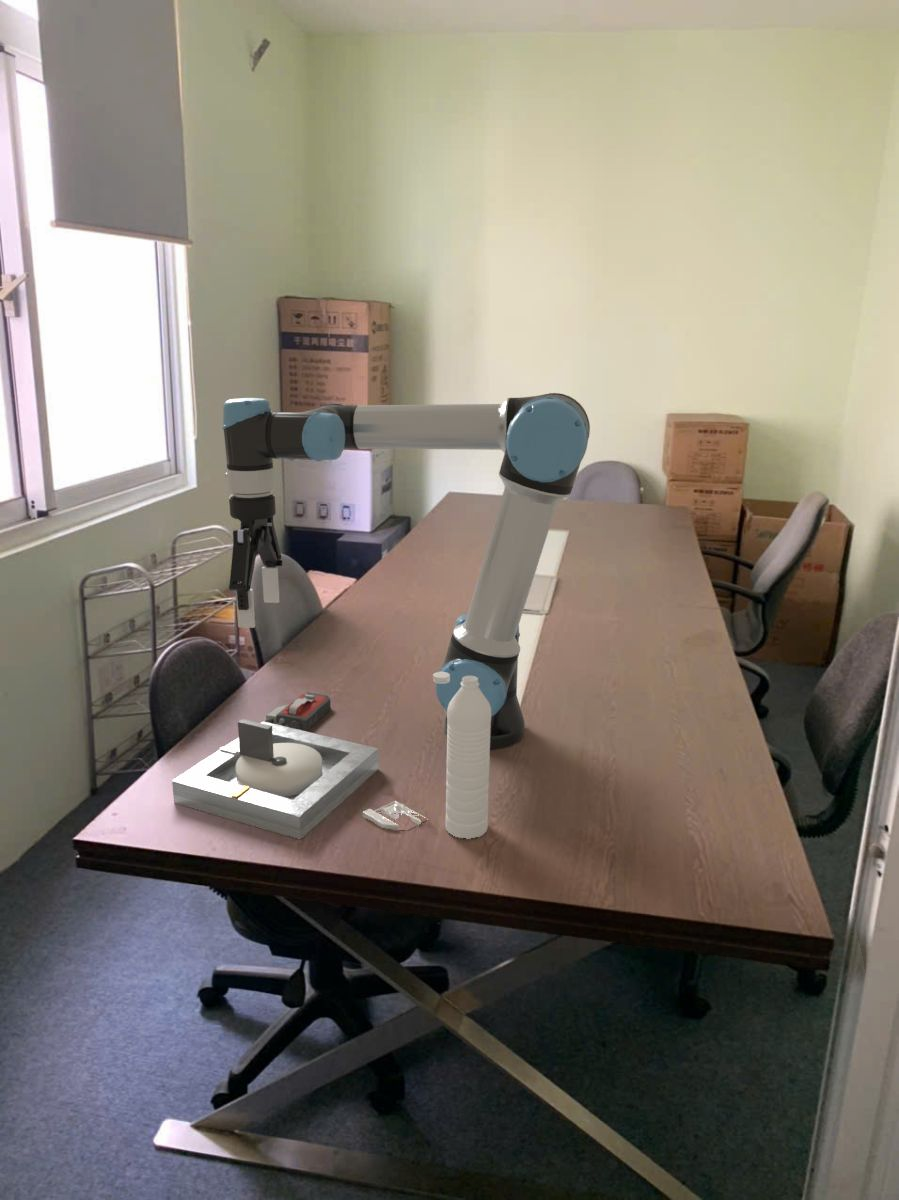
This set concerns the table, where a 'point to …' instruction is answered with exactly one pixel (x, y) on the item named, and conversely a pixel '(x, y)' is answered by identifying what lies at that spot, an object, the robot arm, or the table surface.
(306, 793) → the silver rectangular frame
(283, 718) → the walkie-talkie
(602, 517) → the table surface
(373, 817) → the model kit parts
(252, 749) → the dial
